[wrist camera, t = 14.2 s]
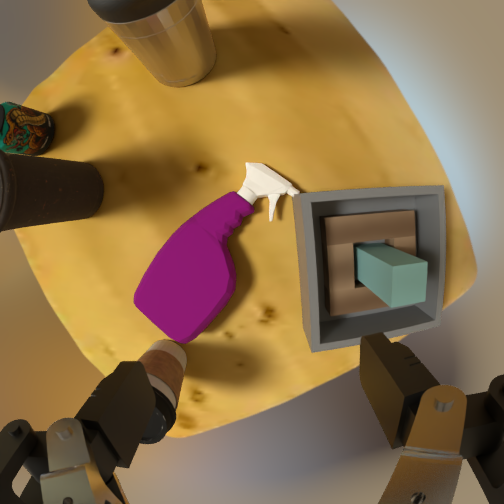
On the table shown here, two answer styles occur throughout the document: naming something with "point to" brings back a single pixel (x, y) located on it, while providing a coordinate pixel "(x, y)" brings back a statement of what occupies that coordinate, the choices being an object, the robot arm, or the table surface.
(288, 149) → the table surface
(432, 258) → the crate
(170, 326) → the spray bottle
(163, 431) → the coffee cup
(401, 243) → the plate
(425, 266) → the peg
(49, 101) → the table surface
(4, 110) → the beverage can
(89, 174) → the container
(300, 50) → the table surface
